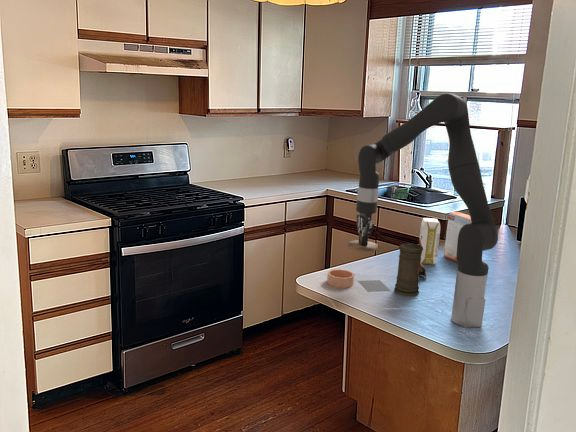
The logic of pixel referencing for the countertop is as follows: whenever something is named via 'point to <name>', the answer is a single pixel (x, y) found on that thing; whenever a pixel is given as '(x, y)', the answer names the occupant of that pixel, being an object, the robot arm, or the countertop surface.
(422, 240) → the juice carton
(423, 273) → the pottery mug
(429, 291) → the countertop surface
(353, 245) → the lid
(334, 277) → the bowl
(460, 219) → the cracker box
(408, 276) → the container
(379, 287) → the mat
